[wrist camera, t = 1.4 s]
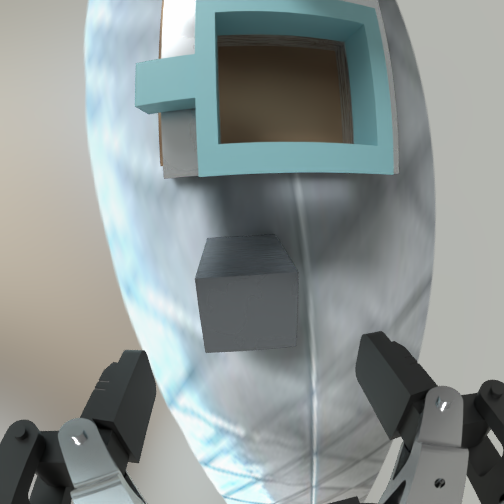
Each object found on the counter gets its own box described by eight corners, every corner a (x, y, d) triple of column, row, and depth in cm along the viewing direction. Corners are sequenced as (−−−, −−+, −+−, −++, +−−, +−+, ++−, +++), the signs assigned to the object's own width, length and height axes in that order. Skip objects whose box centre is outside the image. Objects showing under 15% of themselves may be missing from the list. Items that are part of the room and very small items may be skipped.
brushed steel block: (207, 238, 19) (194, 278, 12) (274, 234, 19) (298, 271, 12) (212, 292, 20) (205, 352, 13) (275, 288, 20) (296, 346, 14)
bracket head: (152, 25, 10) (139, 4, 8) (355, 27, 11) (375, 8, 8) (153, 179, 13) (136, 183, 10) (368, 172, 13) (393, 174, 11)
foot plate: (168, -8, 13) (164, -18, 11) (353, -3, 14) (360, -11, 12) (166, 165, 17) (160, 166, 16) (372, 160, 18) (382, 161, 16)
